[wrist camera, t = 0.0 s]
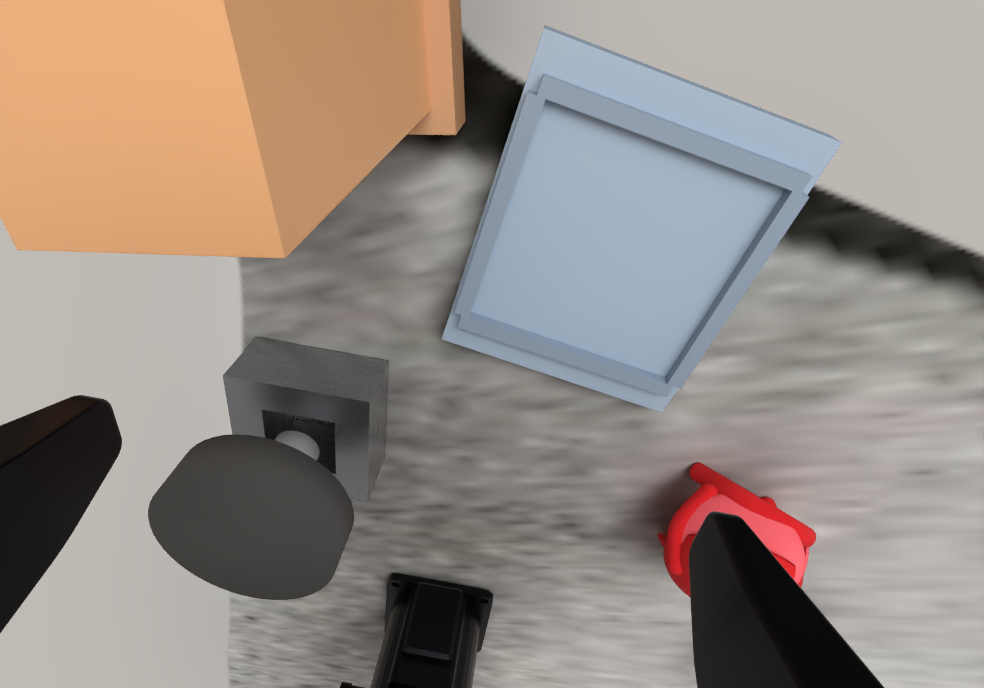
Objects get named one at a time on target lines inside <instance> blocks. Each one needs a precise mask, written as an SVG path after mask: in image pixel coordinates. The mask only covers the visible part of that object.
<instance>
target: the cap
mask: <svg viewBox="0 0 984 688" xmlns="http://www.w3.org/2000/svg"><path fill="white" fill-rule="evenodd" d="M689 474H690V477H691V479H692V480H694V481H696V482H697V483H699V484H700V485H702V486H701V487H700V488H699V489H698V490H697V491H696V492H695V493H694V494H693V495H692V496H691V497H689V498H688V499H687V500H686V501H685V502H684V503H683V504H682V505H681V507H680V508H679V509H678V510H677V511H676V513H675V514H674V516H673V517H672V519H671V521H670V524H669V527H668V532H667V536H666V535H664V534H661V533H658V539H659V541H660V542H661V544H662V545H663V547H664V561H665V565H666V568H667V570H668V573H669V574H670V576H671V578H672V579H673V581H674V582H675V583H676V585H677V586H678V587H679V588H680V589H681V590H682V591H683V592H684V593H685V594H687V595H688V596H689V597H690V577H689V551H690V547H691V544H692V542H693V540H694V538H695V536H696V535H697V533H698V531H699V529H700V527H701V525H702V524H703V522H704V520H705V518H706V516H707V515H708V514H709V513H710V512H712V511H717V512H723V513H728V514H734V515H737V516H739V517H741V518H742V519H743V520H744V521H745V522H746V523H747V524H748V526H749V527H750V528H751V529H752V530H753V532H754V533H755V534H756V535H757V536H758V537H759V539H760V540H761V541H762V542H763V543H764V545H765V546H766V547H767V548H768V549H769V551H770V552H771V553H772V554H773V555H774V557H775V558H776V559H777V560H778V561H779V563H780V564H781V565H782V566H783V567H784V568H785V570H786V571H787V572H788V573H789V574H790V576H791V577H792V578H793V579H794V580H795V582H796V583H797V584H798V585H799V586H800V588H801V586H802V582H803V575H804V573H805V570H806V567H807V562H808V555H809V547H810V546H812V545H813V544H814V542H815V540H816V533H815V532H814V530H813V529H811V528H809V527H808V526H806V525H805V524H803V523H801V522H800V521H798V520H796V519H795V518H793V517H791V516H790V515H788V514H786V513H785V512H783V511H781V510H780V509H778V508H777V507H776V504H775V502H774V500H773V499H771V498H769V497H763V498H760V497H758V496H756V495H755V494H753V493H751V492H749V491H748V490H746V489H744V488H743V487H741V486H739V485H738V484H736V483H734V482H733V481H731V480H729V479H727V478H726V477H724V476H722V475H721V474H719V473H717V472H715V471H714V470H712V469H710V468H709V467H707V466H705V465H703V464H702V463H695V464H694V465H693V466H692V467H691V469H690V472H689Z"/></svg>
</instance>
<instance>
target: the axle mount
mask: <svg viewBox="0 0 984 688" xmlns="http://www.w3.org/2000/svg"><path fill="white" fill-rule="evenodd" d="M388 367H389V361H388V360H382V359H377V358H371V357H366V356H360V355H355V354H349V353H344V352H338V351H332V350H327V349H321V348H316V347H310V346H305V345H299V344H294V343H288V342H282V341H277V340H271V339H266V338H260V337H255V339H254V340H253V341H252V342H251V343H250V344H249V346H248V347H247V348H246V349H245V350H244V352H243V353H242V354H241V355H240V356H239V357H238V359H237V360H236V361H235V362H234V363H233V365H232V366H231V367H230V368H229V369H228V370H227V372H226V373H225V374H224V375H223V379H224V385H225V391H226V397H227V403H228V409H229V415H230V422H231V428H232V434H233V435H234V434H237V435H252V436H259V437H263V438H268V439H272V440H275V439H276V437H277V436H278V435H279V434H280V433H282V432H284V431H298V432H302V433H304V434H306V435H308V436H309V437H311V438H312V439H313V440H314V441H315V442H316V443H317V445H318V447H319V451H320V454H319V457H318V459H317V461H318V462H319V463H320V464H322V465H323V466H324V467H325V468H327V469H328V470H329V471H330V472H331V473H332V474H333V475H334V476H335V477H336V478H337V479H338V481H339V482H340V483H341V484H342V486H343V487H344V489H345V490H346V492H347V494H348V496H349V498H350V499H356V500H361V501H366V502H368V499H369V497H370V494H371V491H372V489H373V486H374V483H375V481H376V478H377V476H378V473H379V470H380V468H381V465H382V462H383V460H384V457H385V437H386V414H387V390H388ZM294 415H295V416H301V417H306V418H312V419H317V420H323V421H328V422H334V423H335V426H331V425H325V424H320V423H314V422H309V421H303V420H298V419H294Z"/></svg>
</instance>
